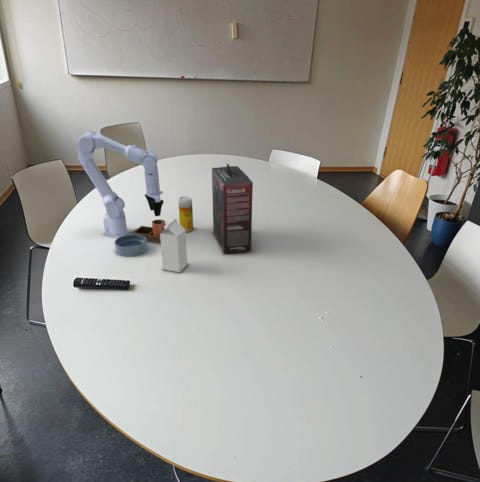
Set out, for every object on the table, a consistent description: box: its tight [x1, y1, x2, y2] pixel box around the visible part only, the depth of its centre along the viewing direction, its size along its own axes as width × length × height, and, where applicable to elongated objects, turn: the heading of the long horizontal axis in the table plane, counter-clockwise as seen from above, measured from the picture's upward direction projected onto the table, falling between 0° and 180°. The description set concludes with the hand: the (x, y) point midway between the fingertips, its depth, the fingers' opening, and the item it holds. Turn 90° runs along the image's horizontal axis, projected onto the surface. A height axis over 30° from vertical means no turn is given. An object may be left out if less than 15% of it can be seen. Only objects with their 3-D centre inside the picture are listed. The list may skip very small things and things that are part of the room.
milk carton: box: [160, 218, 188, 273], centre depth 165 cm, size 7×7×19 cm
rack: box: [131, 225, 161, 245], centre depth 191 cm, size 16×8×4 cm, turn 69°
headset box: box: [211, 163, 254, 254], centre depth 182 cm, size 25×12×33 cm, turn 14°
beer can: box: [178, 196, 194, 233], centre depth 197 cm, size 6×6×15 cm
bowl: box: [114, 234, 149, 258], centre depth 180 cm, size 13×13×4 cm
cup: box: [151, 219, 167, 237], centre depth 188 cm, size 6×6×8 cm
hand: (155, 212), depth 192 cm, fingers open, 7 cm apart
